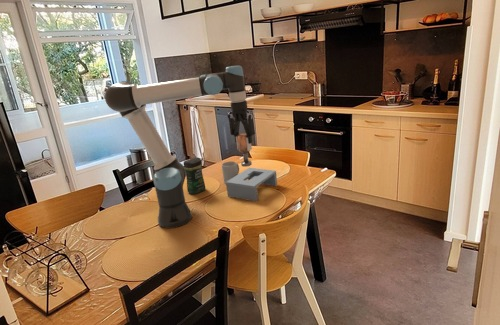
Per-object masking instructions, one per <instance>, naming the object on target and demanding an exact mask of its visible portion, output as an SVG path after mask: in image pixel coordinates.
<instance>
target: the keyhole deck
mask: <svg viewBox="0 0 500 325" xmlns="http://www.w3.org/2000/svg"><path fill="white" fill-rule="evenodd" d="M225 185H226V191H227V197H229V196H231V197H230V198H234V197H236V199H240V198H241V199H242V200H245V199H246V201H250V202H251V201H252V202H257V201H258V200H259V198H258V197H259V195H258V188H257V187H259V186H260V185H267V186H273V187H276V186H278V178H277V170H272V169H263V168H255V167H248V168H247V169H245V170H243V171H242V172H239V173H238V175H237V176H235V177H233V178H232V179H230V180H228V181H227V182H226V184H225Z"/></svg>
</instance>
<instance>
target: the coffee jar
mask: <svg viewBox="0 0 500 325" xmlns="http://www.w3.org/2000/svg"><path fill="white" fill-rule="evenodd" d="M183 166H184V168H185V171H186V177H185V179H186V189H187V192H188V193H189V194H194V195H195V194H199V193H201V192H203V191H205V190H206V184H205V179H204V175H203V171H202V170H203V169H202V168H203V162H202V159H201V158H200V157H197V156H195V157H193V158H190V159H186V160H184V161H183Z"/></svg>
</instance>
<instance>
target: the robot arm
mask: <svg viewBox="0 0 500 325" xmlns="http://www.w3.org/2000/svg"><path fill="white" fill-rule="evenodd" d="M245 86H246V84H245V77H244V69H243V67H242V66H241V65H231V66H226V67H225V71H223V72H215V73H205V74H201V75H199V76H197V77H191V78H185V79H177V80H171V81H165V82H158V83H150V84H143V85H137V84H135V83H133V82H131V81H126V80H124V81H119V82H117V83H114V84H111V85H110V86H108V88H106V90H105V93H104V101H105V102H106V103H105V104H106V105H107V107H109V108H110V109H111V110H113V111H116V112H119V114H120V116H121V118H125V119H127V120H128V122H129V123H130V125H131V127H132V129H133V130H134V132H135V134H136V135H137V137H138V138H139V140H140V142H141V143H142V145H143V147H144V148H145V151H146V152H147V153H148V156H149V157H150V159H151V161H152V162H153V164H154V166H153V170H154V172H155V173H154V175H153V185H154V187H155V188H154V190H155V195H156V198H157V202H158V207H159V208H158V216H157V222H158V223H157V224H158V225H159V227H161V226H162V227H161V228H164V227H174V228H177V227H176V226H179V227H182V226H184V225H186V224H188V223H189V222H190V221H191V220H192V218H193V215H192V211H191V210H190V208H189V206H188V204H187V202H186V198H185V193H184V184H185V180H186V171H185V168H184V164H182V163H181V162H180V161H179V160H178V159H177V157H176V156H175V155H172V154H171V153H170V151H169V149H168V148H167V146H166V144H165V143H164V140H163V139H162V136H160V134H159V132H158V130H157V128H156V127H155V125H154V123H153V121H152V120H151V118H150V116H149V114H148V113H147V111H146V108H147V105H150V104H157V103H163V102H169V101H170V102H171V101H176V100H183V99H189V98H195V97H201V96H202V97H203V96H209V95H211V96H216V95H219V94H220V93H221V92H222V91H223V90H228V96H229V101H230V102H229V104H230V109H231V111H232V112H231V113H229V114H227V118H228V124H229V130H230V135H231V136H233V137H234V142H235V143H236V147H237V151H239V145H238V137H237V135H239V134H240V123H241V124H242V126H243V128H244V131H245V133H246V135H247V137H246V144H247V151H249V150H250V151H251V150H252V149H253V148H252V143H253V137H252V136H254V135H256V132H255V124H254V117H255V116H254V114H253V113H249V111H248V102H247V92H246V87H245ZM250 151H249V152H250Z"/></svg>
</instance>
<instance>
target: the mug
mask: <svg viewBox="0 0 500 325" xmlns="http://www.w3.org/2000/svg"><path fill="white" fill-rule="evenodd" d="M221 170H222V177H223V178H222V179H223V184H224V185H226V182H227V181H228V180H230V179H232V178H233V177H235V176H237V175H238V174H240V166H239V163H237V162H236V161H230V160H229V161H225V162H223V163H221Z"/></svg>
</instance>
